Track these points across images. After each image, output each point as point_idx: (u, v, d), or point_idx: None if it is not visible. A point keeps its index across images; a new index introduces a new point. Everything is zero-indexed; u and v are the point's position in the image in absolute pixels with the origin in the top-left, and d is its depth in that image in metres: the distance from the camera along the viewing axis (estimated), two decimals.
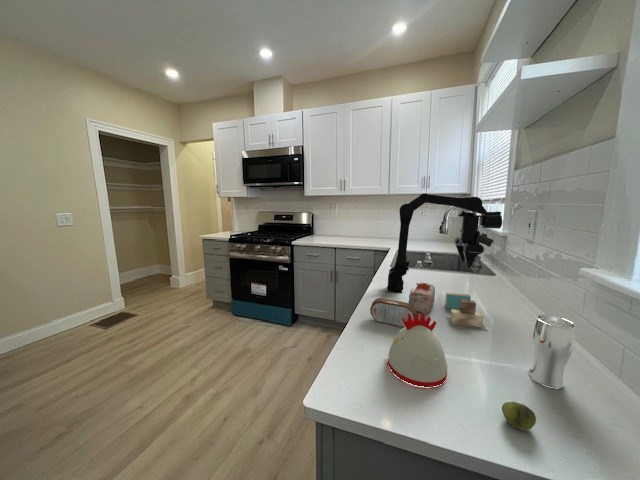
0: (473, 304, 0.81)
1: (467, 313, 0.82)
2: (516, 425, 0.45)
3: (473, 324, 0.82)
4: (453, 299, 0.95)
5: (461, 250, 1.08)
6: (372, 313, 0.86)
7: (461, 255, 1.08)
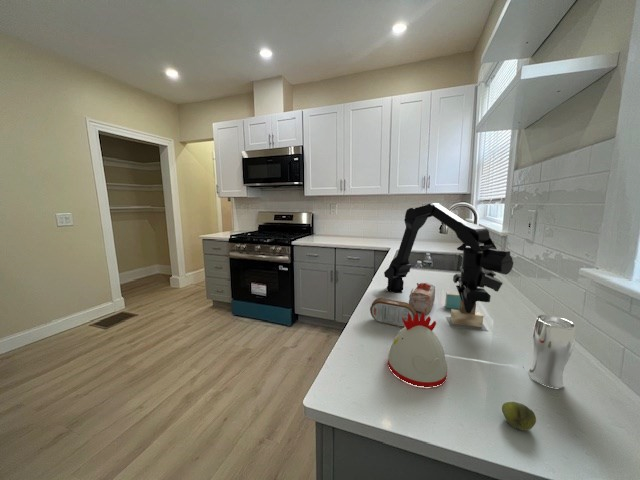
0: None
1: (467, 313, 0.82)
2: (516, 425, 0.45)
3: (473, 324, 0.82)
4: (453, 299, 0.95)
5: None
6: (372, 313, 0.86)
7: None
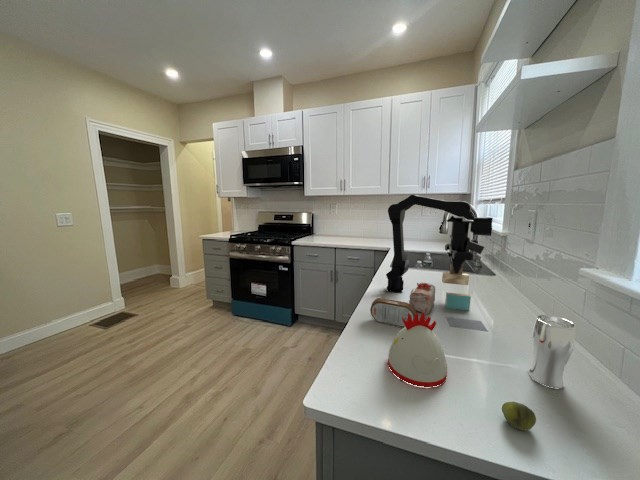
0: None
1: (456, 274, 0.98)
2: (516, 425, 0.45)
3: (461, 283, 0.98)
4: (453, 299, 0.95)
5: None
6: (372, 313, 0.86)
7: None
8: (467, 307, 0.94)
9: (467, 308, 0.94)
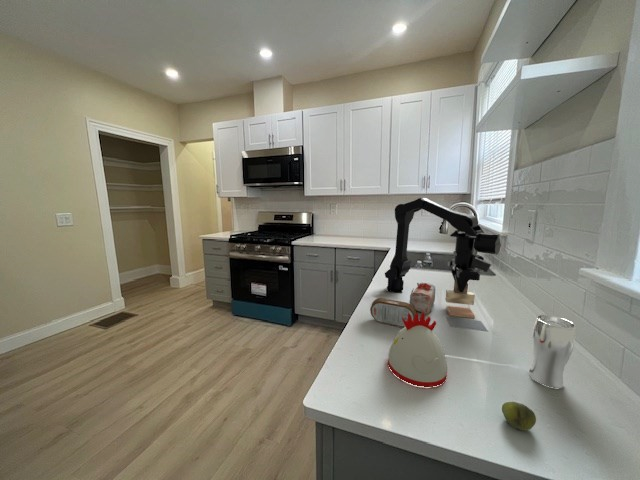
0: None
1: (460, 293, 0.92)
2: (516, 425, 0.45)
3: (465, 302, 0.92)
4: None
5: None
6: (372, 313, 0.86)
7: None
8: None
9: None
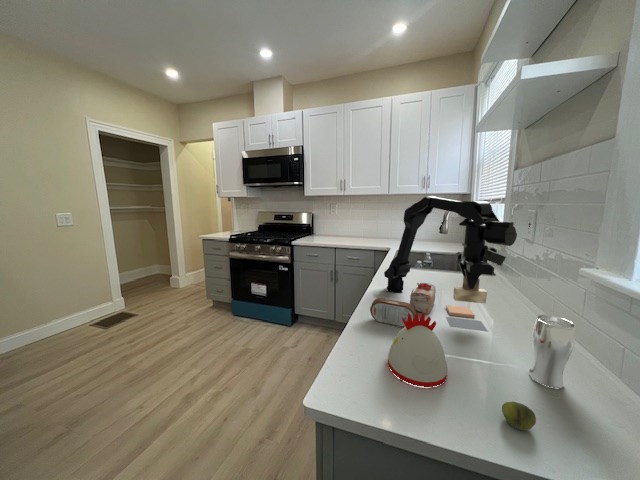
0: None
1: (470, 290, 0.81)
2: (516, 425, 0.45)
3: (476, 300, 0.81)
4: None
5: None
6: (372, 313, 0.86)
7: None
8: None
9: None
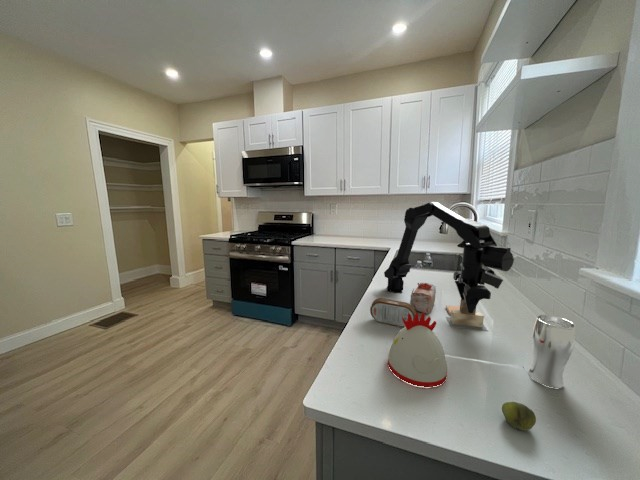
0: None
1: (467, 314, 0.82)
2: (516, 425, 0.45)
3: (473, 324, 0.82)
4: None
5: (462, 289, 0.86)
6: (372, 313, 0.86)
7: (462, 295, 0.86)
8: None
9: None
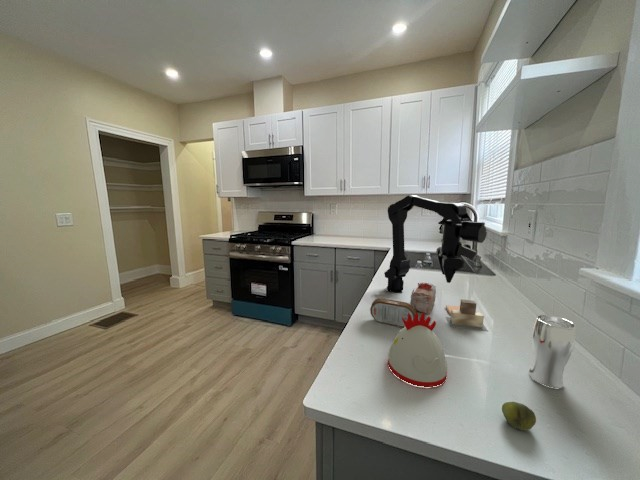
0: (473, 304, 0.81)
1: (467, 314, 0.82)
2: (516, 425, 0.45)
3: (473, 324, 0.82)
4: None
5: None
6: (372, 313, 0.86)
7: (442, 267, 0.98)
8: None
9: None
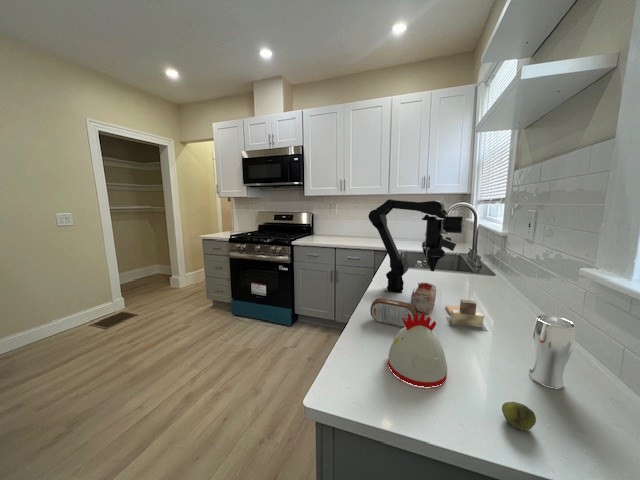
0: (473, 304, 0.81)
1: (467, 314, 0.82)
2: (516, 425, 0.45)
3: (473, 324, 0.82)
4: None
5: None
6: (372, 313, 0.86)
7: None
8: None
9: None
